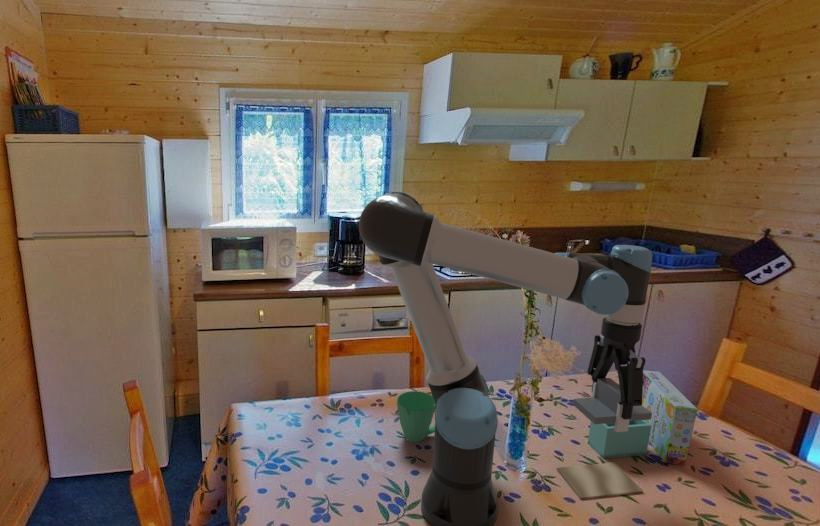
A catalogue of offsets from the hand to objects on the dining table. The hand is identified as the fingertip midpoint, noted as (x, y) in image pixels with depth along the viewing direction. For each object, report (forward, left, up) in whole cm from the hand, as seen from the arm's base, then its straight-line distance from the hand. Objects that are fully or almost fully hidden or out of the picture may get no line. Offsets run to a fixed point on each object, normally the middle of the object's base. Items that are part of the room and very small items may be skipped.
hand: (608, 419), depth 102 cm
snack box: (+25, +13, -15) cm, 32 cm away
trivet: (0, 0, -15) cm, 15 cm away
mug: (-35, +22, -15) cm, 44 cm away
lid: (0, 0, +2) cm, 2 cm away
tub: (+12, +11, -15) cm, 22 cm away
